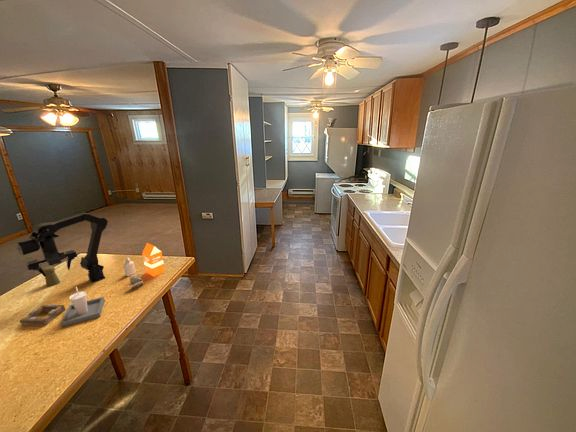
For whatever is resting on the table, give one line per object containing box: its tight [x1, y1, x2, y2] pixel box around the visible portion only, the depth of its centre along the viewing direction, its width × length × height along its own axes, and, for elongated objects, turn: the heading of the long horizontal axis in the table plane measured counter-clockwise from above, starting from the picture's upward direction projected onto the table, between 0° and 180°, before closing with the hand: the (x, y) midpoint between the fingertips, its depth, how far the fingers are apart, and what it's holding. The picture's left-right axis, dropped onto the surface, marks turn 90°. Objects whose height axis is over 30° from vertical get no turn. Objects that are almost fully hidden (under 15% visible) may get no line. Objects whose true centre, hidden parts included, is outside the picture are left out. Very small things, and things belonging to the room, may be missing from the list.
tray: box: [60, 296, 105, 328], centre depth 116 cm, size 14×14×2 cm
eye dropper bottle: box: [123, 256, 137, 277], centre depth 148 cm, size 4×6×12 cm
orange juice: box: [142, 242, 166, 278], centre depth 150 cm, size 8×9×20 cm
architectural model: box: [127, 273, 144, 289], centre depth 136 cm, size 3×7×7 cm, turn 138°
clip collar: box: [19, 303, 66, 327], centre depth 113 cm, size 11×11×4 cm
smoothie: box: [68, 286, 88, 314], centre depth 114 cm, size 6×6×14 cm
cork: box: [42, 265, 61, 287], centre depth 138 cm, size 6×6×11 cm
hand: (57, 273), depth 127 cm, fingers open, 9 cm apart
